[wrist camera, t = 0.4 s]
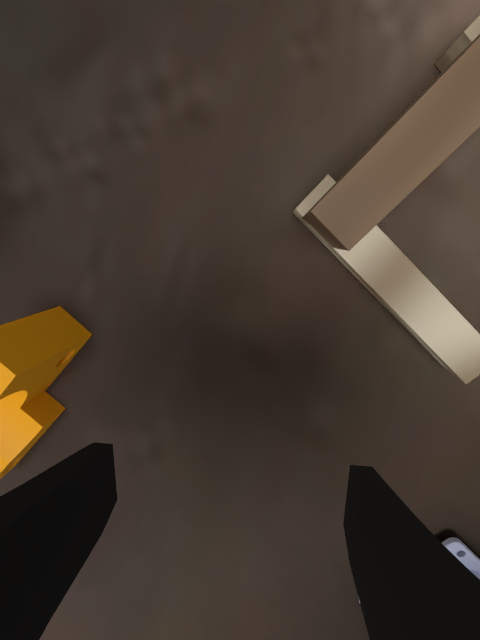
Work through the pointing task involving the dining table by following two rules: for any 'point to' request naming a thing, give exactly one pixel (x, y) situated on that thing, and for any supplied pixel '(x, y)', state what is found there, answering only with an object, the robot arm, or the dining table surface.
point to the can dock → (389, 190)
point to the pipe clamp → (32, 377)
